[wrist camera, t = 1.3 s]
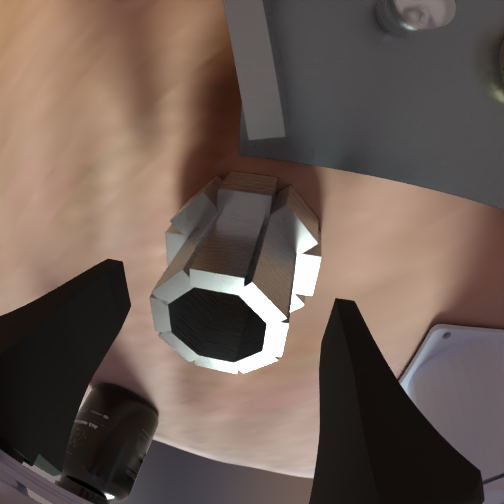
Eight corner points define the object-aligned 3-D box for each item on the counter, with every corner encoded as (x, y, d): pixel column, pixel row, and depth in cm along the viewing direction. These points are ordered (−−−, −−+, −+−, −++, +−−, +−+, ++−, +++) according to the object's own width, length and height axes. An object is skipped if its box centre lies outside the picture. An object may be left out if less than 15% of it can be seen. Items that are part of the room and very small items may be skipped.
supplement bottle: (102, 370, 23) (38, 491, 13) (172, 413, 24) (126, 535, 14) (87, 394, 27) (37, 491, 17) (145, 429, 28) (106, 527, 18)
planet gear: (329, 185, 12) (338, 263, 8) (305, 302, 16) (296, 397, 11) (182, 165, 13) (113, 227, 8) (185, 281, 16) (141, 364, 12)
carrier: (556, 5, 5) (611, 4, 2) (523, 209, 11) (568, 256, 7) (256, -92, 7) (233, -142, 3) (235, 147, 12) (203, 181, 9)
